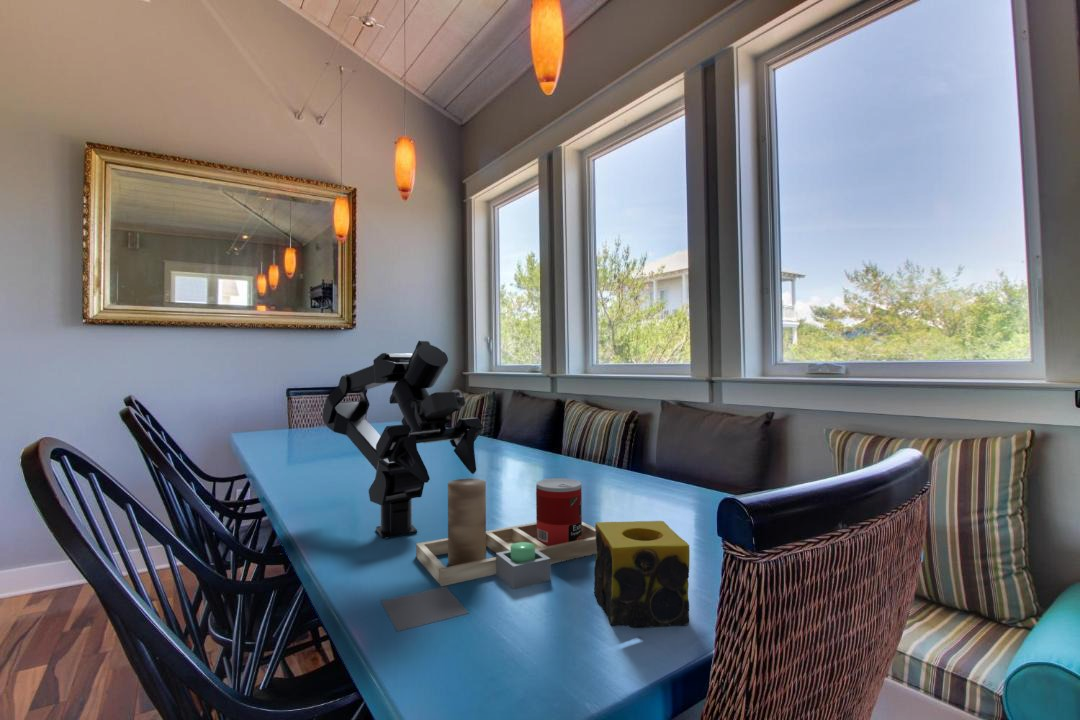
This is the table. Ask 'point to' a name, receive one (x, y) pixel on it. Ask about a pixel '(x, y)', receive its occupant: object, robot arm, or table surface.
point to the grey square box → (523, 569)
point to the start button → (522, 552)
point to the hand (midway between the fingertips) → (452, 476)
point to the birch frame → (500, 543)
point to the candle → (641, 574)
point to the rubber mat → (423, 608)
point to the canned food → (558, 511)
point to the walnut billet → (466, 521)
